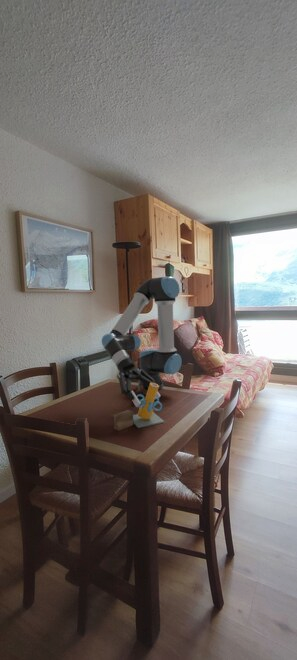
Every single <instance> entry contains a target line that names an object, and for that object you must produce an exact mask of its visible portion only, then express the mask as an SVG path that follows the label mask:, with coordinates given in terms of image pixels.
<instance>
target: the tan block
mask: <svg viewBox="0 0 297 660" xmlns="http://www.w3.org/2000/svg"><path fill="white" fill-rule="evenodd" d="M133 415H134V410H131V409H126V410H124V411H121V412H118V413H116V414H113V428H114V430H115V431H118V432H120V431H124V430H125V429H127V428H129V427H132V426H134V425H135V424H134V423H133Z"/></svg>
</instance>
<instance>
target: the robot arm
mask: <svg viewBox="0 0 297 660" xmlns="http://www.w3.org/2000/svg"><path fill="white" fill-rule="evenodd" d="M180 289H181V288H180V284H179V283H178V280H177V279H176V278H174V277H173V276H161V277H153V278H148V279H147V280H145V281H144V282H143V283H142V284H141V285H140V286H139V287H138V288H137V289H136V290H135V292H134V294H133V299H132V300H131V301H130V302H129V304H128V305H127V307H126V309H125V310H124V311H123V313H122V315H120V317H119V319H118V320H117V322H116V324H115V325H113V328H112V329H111V330H110V332H109V333H107V334H104V335H103V336H102V338H101V344H102V345H101V346H103V349H104V350H105V351H106V352H107V354H108V355H109V358H110V359H111V360H112V362H113V363H114V365H115V366H116V369H117V370H118V373H117V375H116V377H117V379H118V382H119V386H120V391H121V394H122V395H125V396H128V398H129V399H130V401H132V402H133V404H134V406H135V407H136V408H139V407H138V406H139V405H141V403H140V399H139V400H138V398H137V396H136V395H135V392H134V390H132V381H133V380H137V381H138V382H137V389H138V388H140V387H141V386H146V387H148V388H149V385H150V383H156V384H158V385H159V388H158V391H157V394H156V397H158V398H159V399H160V397H161V394H160V393H159V390H162V389H164V382H163V380H162V377H161V374H165V375H175V374H177V373H178V372H179V370H180V369H181V368H182V367H181V366H182V357H181V355H180V354H179V353H178V350H177V348H176V347H175V337H174V336H175V335H174V333H175V331H174V329H175V328H174V303H175V302H176V298H177V297H178V296H179V294H180ZM152 300H154V303H155V304H156V305H157V330H158V332H157V333H158V334H157V335H158V348H151V349H150V348H149V349H144V350H140V352H139V358H138V359H139V367H138V368H136V367H135V362H134V361H133V359H132V358H131V357H130V355H129V353H128V352H131V351H135V350H138V349H139V348H140V347H141V345H142V344H141V338H140V337H139V336H138V335H137V334H131V335H127V334H128V332H129V330H130V329H131V328H132V326H133V325H134V322H135V321H136V319H137V318H138V316H139V314H140V313H141V312H142V311H143V309H144V307H145V306H146V305H148V304H149V303H150V301H152ZM155 400H156V401H157V399H155Z"/></svg>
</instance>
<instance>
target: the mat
mask: <svg viewBox="0 0 297 660" xmlns="http://www.w3.org/2000/svg"><path fill="white" fill-rule="evenodd" d="M164 423H165V420H164V419H162V418H161V417H160V416H159V415H158V414H157V413H155V412H154V411H153V413H152V416H151V418H150V419H143V418H141V417H139V415H138V413H136V414H133V424H134V425H135V427H136V428H138V429H140V428H145V427H149V426H153V425H159V424H164Z"/></svg>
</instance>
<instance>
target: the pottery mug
mask: <svg viewBox="0 0 297 660" xmlns="http://www.w3.org/2000/svg"><path fill="white" fill-rule="evenodd" d="M147 391H148V387H146V386H141V387H140V388H138V387H137V389H136V390H135V392H134V393H135V395H136V396H137V395H138V394H141V395H143V394H144V395H146V394H147ZM137 398H138V400H139V401H140V400H141V398H142V397H141V396H138V397H137Z"/></svg>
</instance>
